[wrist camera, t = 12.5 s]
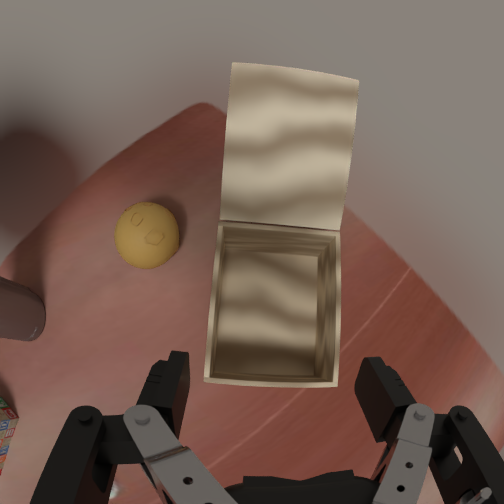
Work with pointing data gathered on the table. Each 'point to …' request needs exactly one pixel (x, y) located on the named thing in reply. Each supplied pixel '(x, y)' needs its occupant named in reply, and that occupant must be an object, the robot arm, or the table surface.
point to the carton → (274, 307)
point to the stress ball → (146, 235)
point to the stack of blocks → (6, 429)
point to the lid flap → (287, 146)
